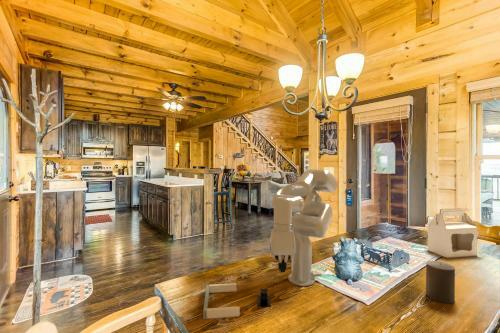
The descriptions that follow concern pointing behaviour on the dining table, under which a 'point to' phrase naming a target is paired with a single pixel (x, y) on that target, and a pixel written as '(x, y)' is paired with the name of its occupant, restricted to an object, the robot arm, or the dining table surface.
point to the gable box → (461, 233)
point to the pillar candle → (440, 281)
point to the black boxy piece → (263, 299)
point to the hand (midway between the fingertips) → (282, 271)
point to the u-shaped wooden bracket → (224, 310)
